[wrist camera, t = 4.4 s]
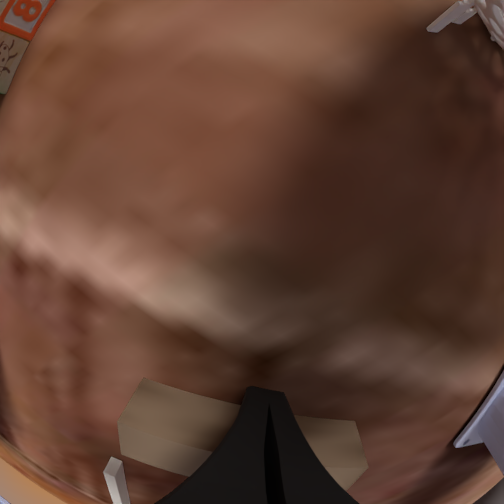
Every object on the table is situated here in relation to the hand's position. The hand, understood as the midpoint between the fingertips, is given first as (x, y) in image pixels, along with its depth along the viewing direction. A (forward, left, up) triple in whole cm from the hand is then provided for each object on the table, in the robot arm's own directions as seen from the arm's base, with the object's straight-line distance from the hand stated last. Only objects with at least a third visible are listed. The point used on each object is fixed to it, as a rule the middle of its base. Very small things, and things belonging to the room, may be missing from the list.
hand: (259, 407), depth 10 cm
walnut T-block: (0, +5, -1) cm, 5 cm away
